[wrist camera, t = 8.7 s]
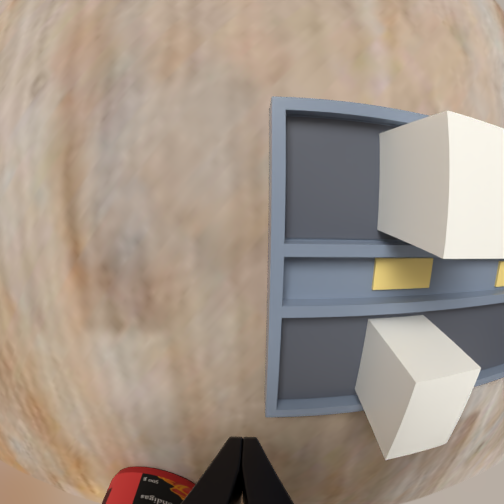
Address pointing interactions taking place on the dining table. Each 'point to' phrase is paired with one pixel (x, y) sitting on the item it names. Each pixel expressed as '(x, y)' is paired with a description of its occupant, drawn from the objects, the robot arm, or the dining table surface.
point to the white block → (412, 384)
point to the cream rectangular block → (444, 186)
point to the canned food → (147, 487)
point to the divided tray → (352, 262)
